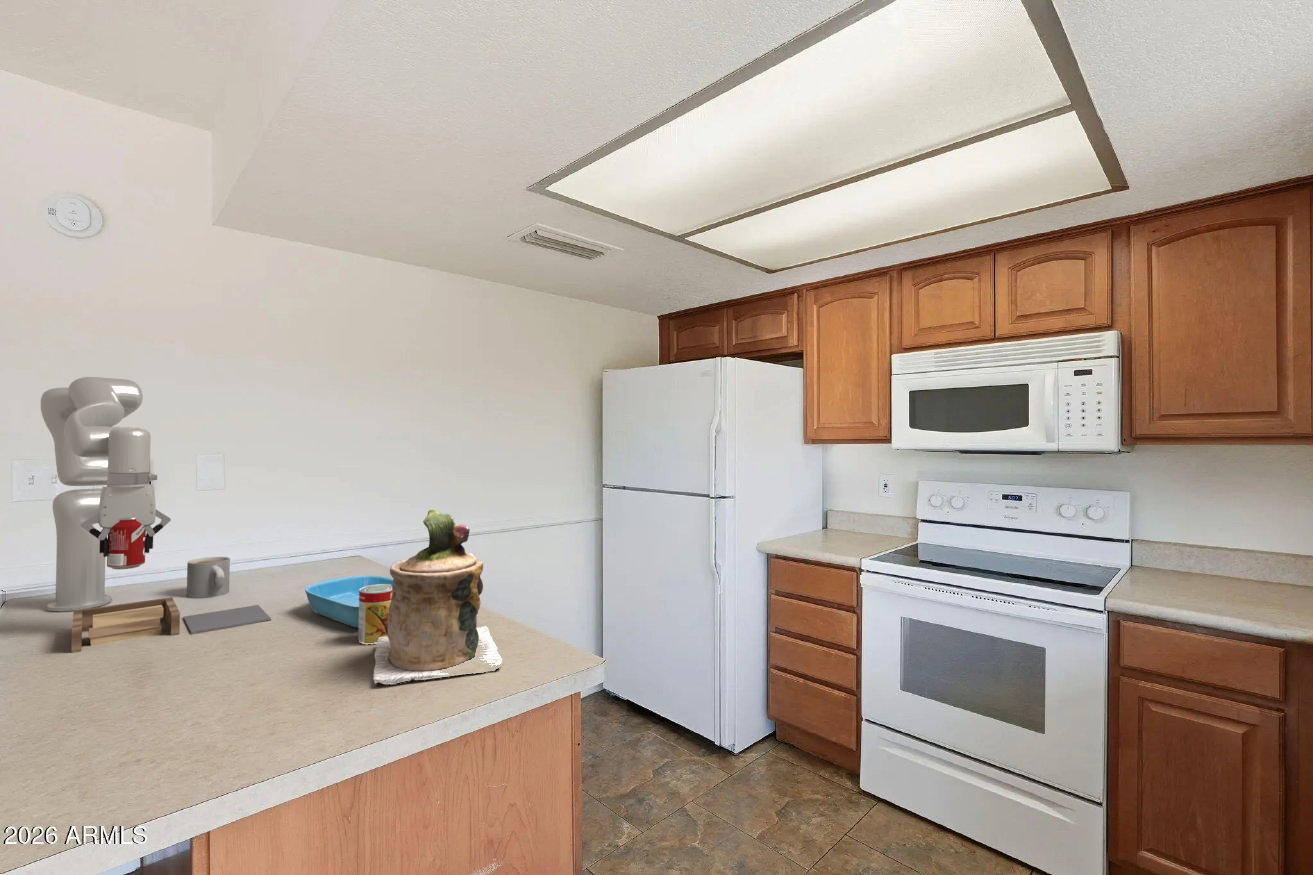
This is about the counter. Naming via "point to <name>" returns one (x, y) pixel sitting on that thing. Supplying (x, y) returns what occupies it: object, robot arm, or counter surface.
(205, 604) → the counter surface
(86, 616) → the frame
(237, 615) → the rubber mat
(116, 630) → the offcut stack
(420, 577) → the cookie jar
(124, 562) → the soda can
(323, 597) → the casserole dish
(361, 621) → the canned food
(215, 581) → the coffee mug
